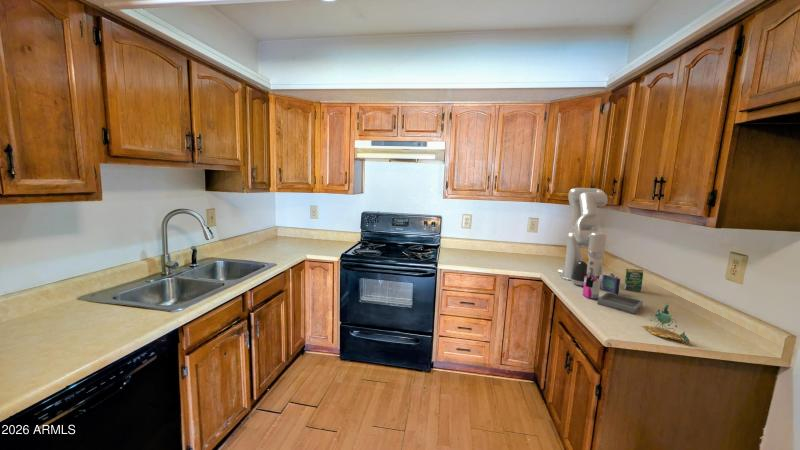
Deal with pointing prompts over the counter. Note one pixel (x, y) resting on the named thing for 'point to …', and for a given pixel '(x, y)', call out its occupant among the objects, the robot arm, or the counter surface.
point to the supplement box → (592, 289)
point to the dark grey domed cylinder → (579, 273)
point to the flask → (610, 283)
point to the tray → (620, 303)
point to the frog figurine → (664, 319)
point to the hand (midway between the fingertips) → (592, 285)
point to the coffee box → (633, 280)
